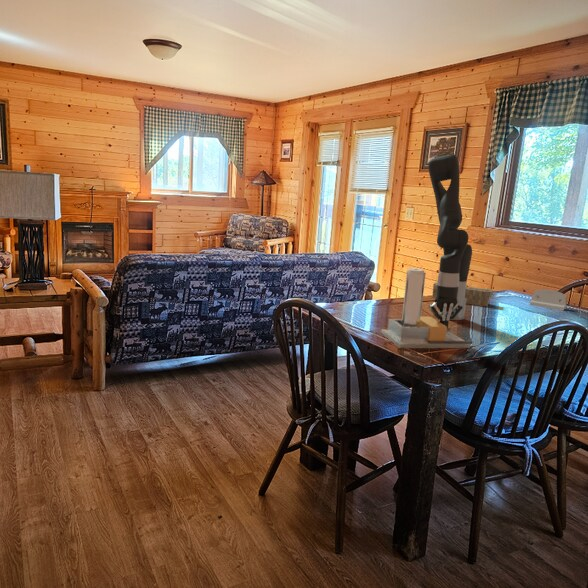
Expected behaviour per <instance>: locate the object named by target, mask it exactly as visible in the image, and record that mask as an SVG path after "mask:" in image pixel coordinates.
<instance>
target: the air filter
mask: <svg viewBox="0 0 588 588" xmlns="http://www.w3.org/2000/svg"><path fill="white" fill-rule="evenodd" d="M426 274H427V273H426V272H425V269H421V268H414V267H413V268H408V269H407V271H406V276H405V277H406V278H405V286H404V296H403V297H404V298H403V307H402V315H401V316H402V317H401V319H402V323H401V325H402V326H404V327H419V326H420V317H421V316H422V307H423V298H424V289H425V283H426Z"/></svg>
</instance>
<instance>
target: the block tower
mask: <svg viewBox="0 0 588 588" xmlns="http://www.w3.org/2000/svg"><path fill="white" fill-rule="evenodd" d="M436 291H437V282H434V283H433V288H432V296H433V297H434V298H435V299H436ZM493 294H494V290H493V289H491V288H486V289H485V288H479V287H473V286H472V287H471V286H466V292H465V298H466V305H468V304H469V305H475V306H482V307H488V305H489V303H490V298H491V297H492V296H493ZM433 297H432V298H433ZM434 298H433V299H434ZM435 299H434V300H435Z"/></svg>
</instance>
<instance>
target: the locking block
mask: <svg viewBox="0 0 588 588" xmlns="http://www.w3.org/2000/svg"><path fill="white" fill-rule="evenodd" d="M419 327H429V335H428V341H445V339H446V331H447V326H445V325H443V324H442V323H440V321H438V320H436V319H435V318H433V317H431V316H425V315H424V316H422V315H421V317H420V326H419Z"/></svg>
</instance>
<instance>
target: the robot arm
mask: <svg viewBox="0 0 588 588" xmlns="http://www.w3.org/2000/svg"><path fill="white" fill-rule="evenodd" d="M427 166H428V167H427V168H428V173H429V178H430V182H431V185H432V190H433V194H434V198H435V199H434V200H435V203H436V204H435V205H436V211H437V217H438V222H439V230H438V234H437V238H436V242H437V243H436V244H437V245H438V247H439V248H440V249H442V250H443V255H442V256H441V257H440V259H439V270H438V271H439V272H438V275H437V282H436V283H437V291H436V299H434V302H433V303H432V304H429V305H428V308H429V310H430V312H431V313H432V315H433V316H434V318H436V319H437V320H439V322H440V323H442V324H443V325H445V326H447V328H449V321H461V320H465V313H466V307H467V303H466V298H465V292H466V287H467V283H468V276H469V273H470V266H471V262H472V256H473V247H472V245H471V244H469V243H468V242H469V234H468V232H467V231H466V230H465V229H460V225H461V223H462V221H463V213H462V207H461V203H460V182H461V181H460V180H461V179H460V178H461V176H460V172H461V171H460V164H459V158H458V156H457V155H456V154H455V153H453V154H446V155H442V156H436V157H434V158H430V159H429V161H428V165H427ZM449 180H450V183H449V186H448V187H447V189H446V188H445V187H444V185H443V183H442V182H445V181H449ZM437 309H438V310H437Z"/></svg>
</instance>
